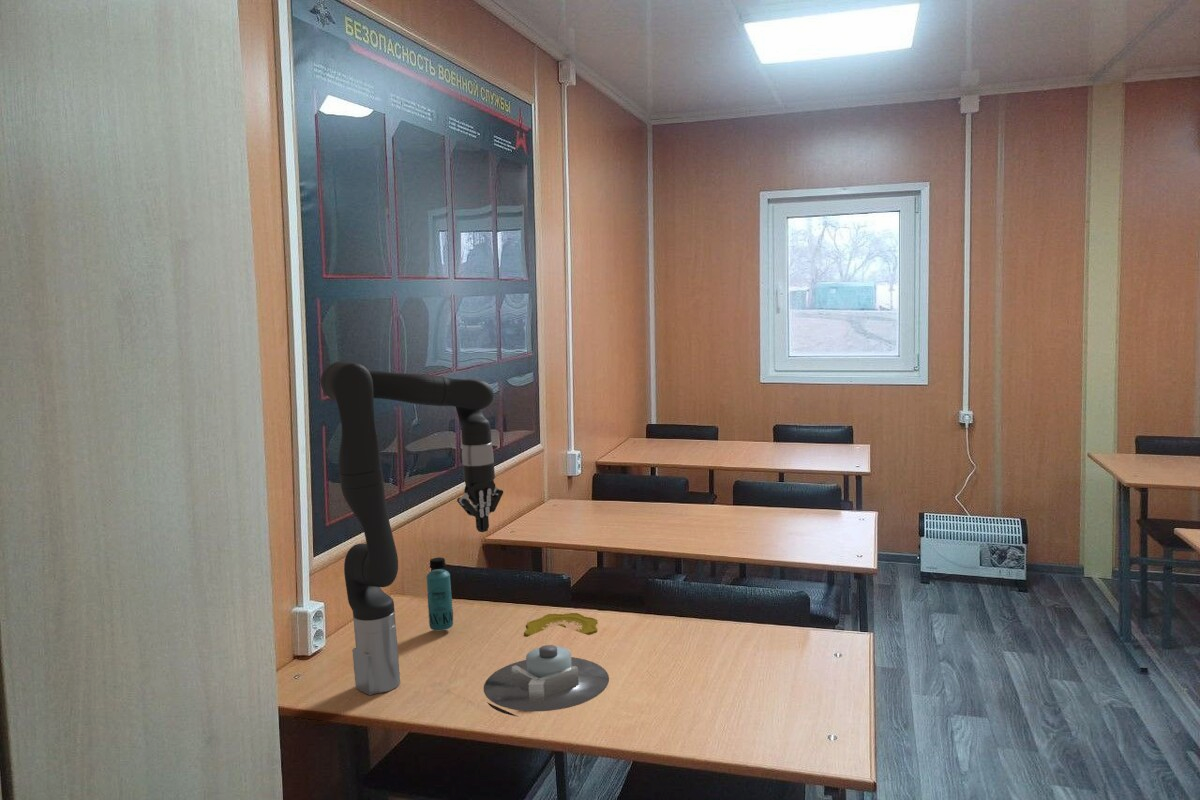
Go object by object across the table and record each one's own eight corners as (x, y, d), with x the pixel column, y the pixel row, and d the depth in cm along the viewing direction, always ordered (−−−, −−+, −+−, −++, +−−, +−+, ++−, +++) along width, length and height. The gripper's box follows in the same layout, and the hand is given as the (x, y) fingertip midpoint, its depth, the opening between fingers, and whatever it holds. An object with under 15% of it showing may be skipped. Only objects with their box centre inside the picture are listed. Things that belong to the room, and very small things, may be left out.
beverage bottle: (427, 630, 238) (421, 557, 236) (451, 625, 241) (445, 553, 238) (433, 638, 232) (427, 564, 230) (457, 632, 235) (452, 559, 232)
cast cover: (550, 694, 192) (548, 661, 191) (518, 683, 199) (516, 651, 198) (581, 678, 199) (579, 646, 199) (549, 667, 206) (547, 636, 205)
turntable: (502, 661, 214) (500, 639, 214) (616, 662, 210) (615, 640, 210) (468, 716, 187) (466, 691, 186) (599, 719, 183) (598, 693, 182)
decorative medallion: (598, 614, 244) (598, 609, 244) (597, 642, 225) (597, 636, 224) (527, 617, 244) (527, 612, 244) (520, 645, 225) (520, 640, 225)
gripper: (465, 467, 207) (470, 540, 209) (509, 458, 217) (513, 527, 219) (446, 464, 213) (451, 535, 215) (489, 455, 222) (494, 523, 224)
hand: (483, 531), depth 217 cm, fingers closed
